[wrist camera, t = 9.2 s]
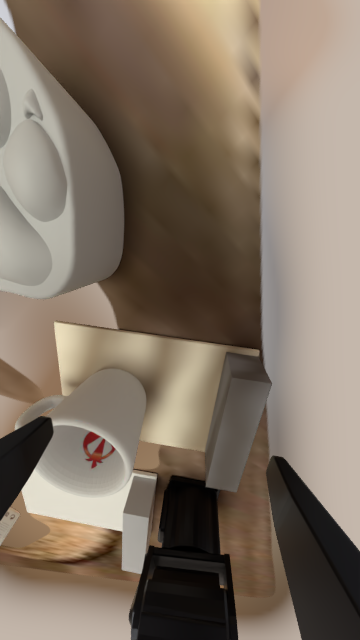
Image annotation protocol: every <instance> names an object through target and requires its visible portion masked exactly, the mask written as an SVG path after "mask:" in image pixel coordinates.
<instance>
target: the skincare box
mask: <svg viewBox="0 0 360 640" xmlns="http://www.w3.org/2000/svg"><path fill="white" fill-rule="evenodd" d="M19 516H20V513H19V512H18V511H17V510H16V509H14V508H12V507H11V506H10V508H9V509H8V511H7V512H6V514H5V515H4V517H3V518H2V520H1V521H0V545H1V543H2V542H3V540H4V539H5V538H6V536H7V534H8V533H9V531H10V530H11V528H12V527H13V525H14V524H15V522H16V520H17V519H18V518H19Z"/></svg>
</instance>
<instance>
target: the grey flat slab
mask: <svg viewBox="0 0 360 640" xmlns="http://www.w3.org/2000/svg"><path fill="white" fill-rule="evenodd" d="M156 481H157V474H154V473H149V472H144V471H138V470H133V472H132V475H131V478H130V480H129V482H128V483H127V484H126V485H125V487H124V488H122V489H121V490H120V491H118V492H117V493H115V494H112V495H110V496H105V497H98V498H90V497H81V496H77V495H73V494H70V493H67V492H65V491H62V490H60V489H58V488H56V487H55V486H53V485H51V484H50V483H48V482H47V481H46V480H45V479H43V478H42V477H41V476H40V475H39V474H38V473H37V472H36V471H35V469H34V471H33V473H32V474H31V476H30V478H29V479H28V481H27V482H26V484H25V485H24V487H23V488H22V494H23V497H24V501H25V505H26V508H27V512H29V513H34V514H39V515H44V516H48V517H53V518H58V519H63V520H68V521H73V522H78V523H83V524H88V525H93V526H98V527H103V528H108V529H113V530H118V531H123V535H122V570H124V571H129V572H134V573H139V574H141V573H142V569H143V563H144V558H145V554H146V553H147V552H148V547H149V541H150V536H151V529H152V519H153V509H154V500H155V490H156Z"/></svg>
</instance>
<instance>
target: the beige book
mask: <svg viewBox="0 0 360 640" xmlns="http://www.w3.org/2000/svg"><path fill="white" fill-rule="evenodd" d="M54 327H55V336H56V344H57V353H58V361H59V369H60V378H61V386H62V395H63V396H69V395H70V394H71V393H72V392H73V391H74V390H75V389H76V388H77V387H79V386H80V385H81V384H82V383H83V382H84V381H85V380H86V379H88V378H89V377H90V376H91V375H93V374H94V373H96V372H98V371H101V370H104V369H112V368H113V369H120V370H124V371H126V372H129V373H130V374H132V375H133V376H135V377H136V378H137V379H138V380H139V381H140V383H141V384H142V386H143V388H144V390H145V393H146V410H145V415H144V419H143V424H142V429H141V434H140V439H139V441H144V442H150V443H156V444H162V445H167V446H173V447H179V448H185V449H190V450H196V451H202V452H205V466H206V487H209V488H215V489H220V490H226V491H231V492H237V489H238V486H239V483H240V480H241V477H242V474H243V471H244V468H245V465H246V462H247V459H248V455H249V452H250V449H251V446H252V443H253V440H254V437H255V434H256V431H257V428H258V425H259V422H260V419H261V416H262V413H263V410H264V407H265V404H266V401H267V398H268V395H269V391H270V388H271V385H272V383H271V381H270V379H269V377H268V375H267V373H266V371H265V369H264V367H263V365H262V363H261V361H260V359H259V357H258V356H259V350H256V349H249V348H242V347H236V346H229V345H222V344H215V343H208V342H201V341H194V340H187V339H180V338H173V337H166V336H159V335H152V334H145V333H138V332H131V331H124V330H117V329H109V328H104V327H97V326H90V325H82V324H76V323H69V322H62V321H55V322H54Z"/></svg>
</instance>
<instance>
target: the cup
mask: <svg viewBox="0 0 360 640" xmlns="http://www.w3.org/2000/svg"><path fill="white" fill-rule="evenodd" d="M53 408H54V409H53ZM50 409H53V410H52V411H51V412H50V413H49V414H48V415H47V416H46V417H51V419H52V423H53V430H54V433H53V437H52V439H51V441H50V442H49V444H48V446H47V448H46V450H45V451H44V453H43V455H42V457H41V458H40V460H39V462H38V464H37V466H36V467H35V471H36V472H37V473H38V474H39V475H40V476H41V477H42V478H43V479H45V480H46V481H47V482H48V483H50V484H51V485H53V486H55V487H56V488H58V489H60V490H62V491H65V492H67V493H70V494H73V495H77V496H81V497H90V498H98V497H105V496H110V495H112V494H115V493H117V492H118V491H120V490H121V489H122V488H124V487H125V485H126V484H127V483H128V482H129V480H130V478H131V475H132V472H133V468H134V463H135V458H136V453H137V448H138V444H139V439H140V434H141V429H142V424H143V419H144V415H145V410H146V393H145V390H144V388H143V386H142V384H141V383H140V381H139V380H138V379H137V378H136V377H135V376H133V375H132V374H130V373H129V372H126V371H124V370H120V369H113V368H112V369H104V370H101V371H98V372H96V373H94V374H93V375H91V376H90V377H89V378H88V379H86V380H85V381H84V382H83V383H82V384H81V385H80V386H79V387H77V388H76V389H75V390H74V391H73V392H72V393H71V394H70V395H69V396H63V395H53V396H49V397H46V398H44V399H41V400H40V401H38V402H36V403H35V404H33V405H32V406H30V407H29V408H28V409H27V410H26V411H25V412H24V413H23V414H22V415H21V416H20V417H19V419H18V420H17V422H16V425H15V430H17V429H18V428H20V427H22V426H24V425H25V424H27V423H29V422H31V421H33V420H34V419H36V418H37V417H39V416H40V415H41V414H42V413H44V412H46V411H48V410H50Z"/></svg>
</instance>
